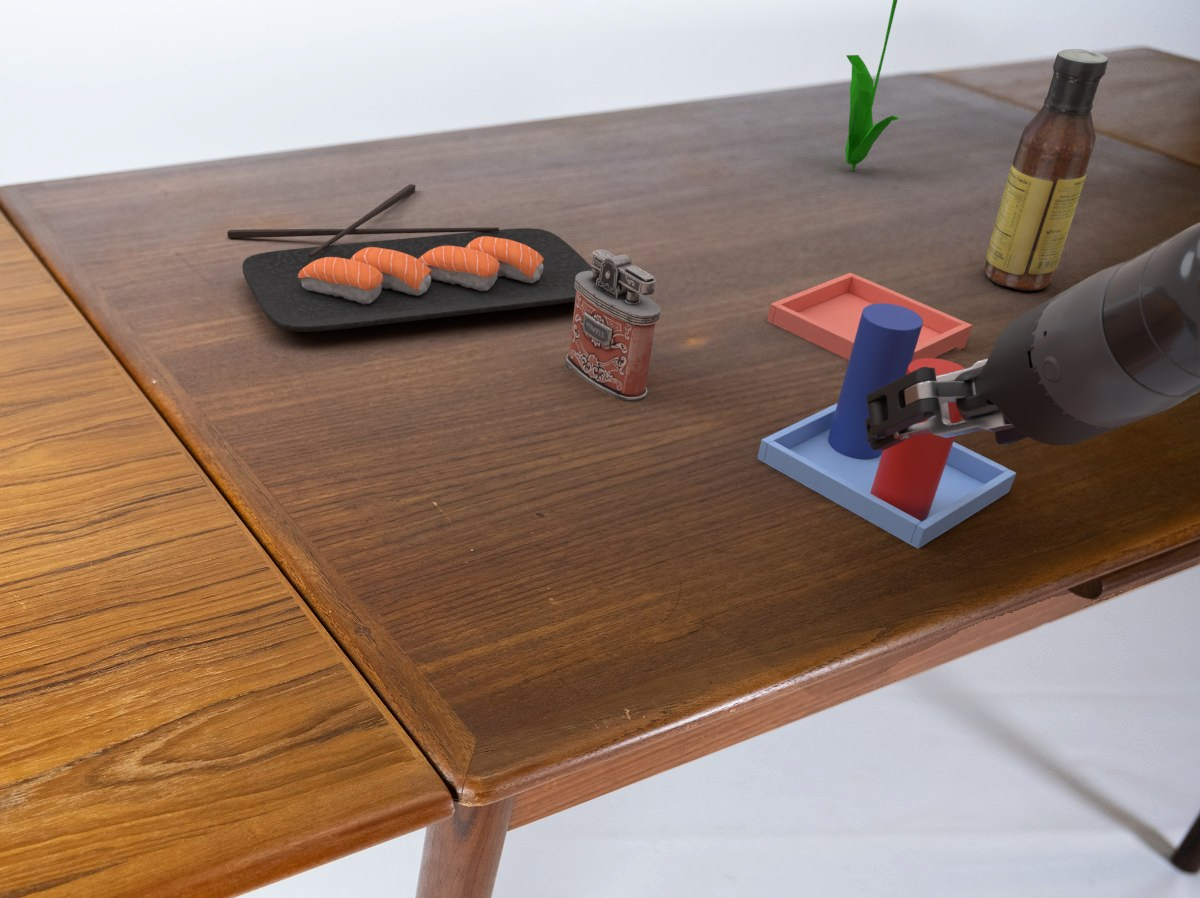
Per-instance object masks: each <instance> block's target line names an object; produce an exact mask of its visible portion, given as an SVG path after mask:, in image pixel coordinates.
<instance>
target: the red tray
mask: <svg viewBox="0 0 1200 898" xmlns="http://www.w3.org/2000/svg"><path fill="white" fill-rule="evenodd" d="M879 303H885V304H894V305H898V306H902V307H905V308H908V309H910V310H912V311H914V312H916V313H917V314H918V315H920V316H921V318H922V320H923V325H922V328H921V332H920V335H919V338H918V342H917V345H916V348H915V352H914V355H913V358H912V361H911V362H913V361H914V360H917V359H922V358H937V357H939V356H941V355H943V354H945V353H947V352H950V351H951V350H953V349H958V350H960V351H961V350H963V349H965V348H966V345H967V343H968V339H969V337H970V335H971V331H972V327H973V324H971V323H969V322H966V321H964V320H962V319H959V318H958V317H955V316H953V315H950V314H948V313H946V312H943V311H941V310H938V309H936V308H935V307H932V306H929V305H927V304H925V303H923V302H920V301H918V300H916V299H914V298H911V297H908V296H907V295H904V294H901V293H899V292H897V291H895V290H892V289H890V288H888V287H886V286H883V285H881V284H878V283H876V282H873V281H872V280H869V279H867V278H865V277H862V276H860V275H858V274H855V273H853V272H849V273H846V274H844V275H840V276H838V277H834V278H833V279H830V280H828V281H825V282H823V283H820V284H818V285H815V286H813V287H810V288H807V289H805V290H802V291H800V292H796V293H795V294H791V295H789V296H787V297H785V298H781V299H779V300H776V301H774V302H771V303H770V306H769V310H768V315H767V319H766V320H767V322H769V323H771V324H773V325H775V326H778V327H779V328H781V329H783V330H786V331H788V332H790V333H792V334H793V335H795V336H798V337H800V338H802V339H803V340H807V341H808V342H811V343H813V344H815V345H817V346H819V347H821V348H823V349H825V350H827V351H830V352H831V353H833V354H836V355H838V356H840V357H842V358H843V359H846V360H848V361H849V359H850V355H851V351H852V348H853V344H854V340H855V336H856V333H857V329H858V325H859V322H860V318H861V314H862V311H863V309H864V308H865V307H866V306H868V305H872V304H879Z"/></svg>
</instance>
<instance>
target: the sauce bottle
mask: <svg viewBox="0 0 1200 898" xmlns="http://www.w3.org/2000/svg"><path fill="white" fill-rule="evenodd" d="M1108 63H1109V57H1108V56H1106V55H1105V54H1103V53H1099V52H1096V51H1091V50H1087V49H1081V48H1068V49H1063V50H1060V51H1058V52H1057V54H1056V57H1055V59H1054V63H1053V67H1052V70H1053V74H1052V77H1051V81H1050V84H1049V88H1048V91H1047V95H1046V96H1045V98H1044V101H1043V105H1042V106H1041V108H1040V109H1039V110H1038V112H1037V113H1036V115H1034V116H1033V118H1032V119H1031V120H1030V121H1029V122H1028V123H1027V125H1025V127H1024V129H1023V131H1022V133H1021V137H1020V139H1019V142H1018V145H1017V148H1016V150H1015V153H1014V156H1013V159H1012V162H1011V166H1010V170H1009V173H1008V177H1007V180H1006V183H1005V186H1004V190H1003V194H1002V197H1001V201H1000V204H999V208H998V211H997V215H996V218H995V222H994V226H993V229H992V234H991V238H990V240H989V243H988V248H987V252H986V254H985V258H986V259H985V265H984V269H983V270H984V273H985V276H986V277H987V278H988V279H990V281H991V282H992V283H995V284H996V285H998V286H1001V287H1006V288H1009V289H1013V290H1016V291H1023V292H1025V291H1026V292H1027V291H1028V292H1033V291H1041V290H1043V289H1045V288H1047V287H1049V285H1050V283H1051V281H1052V280H1053V277H1054V273H1055V270H1057V269H1058V266H1059V264H1060V260H1061V256H1062V253H1063V251H1064V247H1065V244H1066V242H1067V238H1068V234H1069V231H1070V228H1071V226H1072V222H1073V220H1074V216H1075V213H1076V209H1077V206H1078V203H1079V200H1080V196H1081V193H1082V190H1083V187H1084V184H1085V181H1086V177H1087V175H1088V167H1089V163H1090V160H1091V157H1092V154H1093V151H1094V147H1095V144H1096V138H1097V135H1096V132H1095V128H1094V127H1095V126H1094V122H1093V115H1092V111H1093V107H1094V106H1093V105H1094V100H1095V96H1096V94H1097V91H1098V87H1099V84H1100V82H1101V79H1102V78H1103V77H1104V76H1105V75H1106V72H1107V71H1106V70H1107V67H1108Z"/></svg>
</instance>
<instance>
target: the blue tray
mask: <svg viewBox="0 0 1200 898" xmlns="http://www.w3.org/2000/svg"><path fill="white" fill-rule="evenodd" d="M836 407H837V403H835V404H833V405H830V406H828V407H826V408H824V409H822V410H820V411H818V412H816V413H814V414H812V415H810V416H808V417H805V418H804V419H801V420H799V421H797V422H796V423H793V424H790V425H789V426H787V427H785V428H783V429H780V430H778V431H776V432H774V433H773V434H770V435H768V436H767V437H764V438H762V439H761V441H760V445H759V449H758V454H757V460H758V461H761V462H762V463H765V464H766V465H768V466H770V467H772V468H773V469H775V470H777V471H778V472H780V473H782V474H784V475H786V476H788V477H789V478H790V479H793V480H795V481H796V482H798V483H800V484H802V485H804V486H805V487H807V488H809V489H811V490H812V491H814V492H816V493H818V494H819V495H821V496H823V497H825V498H826V499H828V500H830V501H832V502H834V503H835V504H837V505H839V506H841V507H843V508H844V509H847V510H848V511H850V512H851V513H853V514H856V515H857V516H859V517H861V518H863V519H864V520H866V521H868V522H870V523H871V524H873V525H875V526H876V527H879V528H880V529H882V530H884V531H886V532H888V533H889V534H890V535H893V536H894V537H896V538H898V539H900V540H902V541H903V542H904V543H907V544H909V545H910V546H912V547H915V548H916V549H920V548H922V547H924V546H925V545H927V544H928V543H929V542H932V541H933V540H935V538H938V537H939V536H941V535H942V534H944V533H946V532H947V531H949V530H950V529H952V528H954V527H955V526H957V525H959V524H960V523H962V522H964V521H965V520H966V519H968V518H970V517H971V516H973V515H974V514H977V513H978V512H980V511H981V510H983V509H984V508H986V507H988V506H989V505H990V504H992V503H994V502H995V501H997V500H999V499H1000V498H1002V497H1003V496H1005V495H1006V494H1009V493H1010V492H1011V489H1012V485H1013V483H1014V480H1015V478H1016V475H1017V472H1015V471H1013V470H1012V469H1009V468H1008V467H1005V466H1004V465H1002V464H1000V463H998V462H996V461H994V460H992V459H990V458H988V457H985V456H983V455H982V454H980V453H978V452H976V451H973V450H971V449H969V448H967V447H965V446H963V445H961V444H959V443H957V442H955V441H954V442H953V445H952V448H951V451H950V454H949V456H948V459H947V462H946V465H945V468H944V471H943V474H942V477H941V480H940V483H939V486H938V489H937V492H936V495H935V498H934V501H933V504H932V506H931V509H930V512H929V515H928V516H927V517H926V518H925V519H924V520H922V521H920V520H918V519H916V518H914V517H912V516H910V515H909V514H907V513H905V512H903V511H901V510H899V509H898V508H896V507H894V506H892V505H890V504H888V503H887V502H885V501H883V500H881V499H879V498H877V497H876V496H874V495H872V494H870V492H871V488H872V485H873V482H874V478H875V475H876V472H877V469H878V465H879V462H880V459H881V456H879V457H877V458H873V459H857V458H852V457H849V456H846V455H843V454H841V453H839V452H837V451H836V450H834V449H833V448H832V447H831V446H830V444H829V441H828V437H829V433H830V429H831V426H832V422H833V418H834V415H835V411H836Z"/></svg>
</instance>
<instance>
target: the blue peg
mask: <svg viewBox="0 0 1200 898" xmlns="http://www.w3.org/2000/svg"><path fill="white" fill-rule="evenodd" d="M922 325H923V320H922V318H921V316H920V315H918V314H917V313H916V312H914V311H912V310H910V309H908V308H905V307H902V306H898V305H894V304H885V303H879V304H872V305H868V306H866V307H865V308H864V309H863V311H862V314H861V318H860V322H859V325H858V329H857V333H856V336H855V340H854V344H853V348H852V351H851V355H850V359H849V360H848V362H847V367H846V371H845V375H844V377H843V381H842V386H841V389H840V393H839V397H838V400H837V402H836V404H837V407H836V411H835V415H834V418H833V422H832V426H831V429H830V433H829V437H828V441H829V444H830V446H831V447H832V448H833V449H834V450H836V451H837V452H839V453H841V454H843V455H846V456H849V457H852V458H857V459H873V458H877V457H879V456H881V455H882V452H883V450H873V449H872V448H871V445H870V444H868V443H867V434H866V426H865V420H866V419H868V418H869V409H868V404H867V399H866V396H867V395H868V394H870V393H872V392H874V391H876V390H878V389H880V388H882V387H884V386H886V385H888V384H889V383H891V382H893V381H895V380H897V379H899V378H901V377H903V376H905V375H906V372H907V369H908V366H909V364H910V363H911V361H912V358H913V355H914V352H915V348H916V345H917V342H918V338H919V335H920V332H921V328H922Z"/></svg>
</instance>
